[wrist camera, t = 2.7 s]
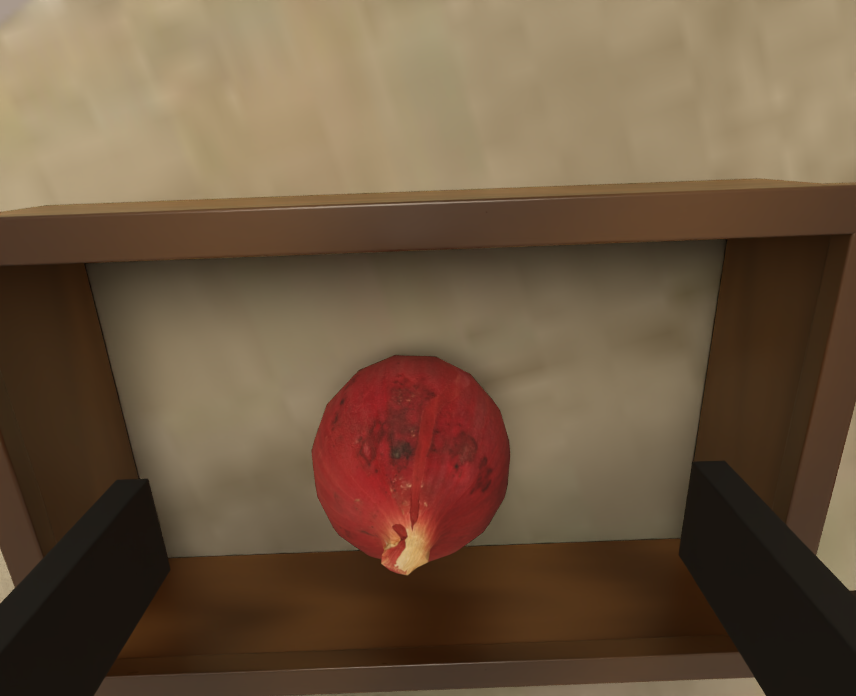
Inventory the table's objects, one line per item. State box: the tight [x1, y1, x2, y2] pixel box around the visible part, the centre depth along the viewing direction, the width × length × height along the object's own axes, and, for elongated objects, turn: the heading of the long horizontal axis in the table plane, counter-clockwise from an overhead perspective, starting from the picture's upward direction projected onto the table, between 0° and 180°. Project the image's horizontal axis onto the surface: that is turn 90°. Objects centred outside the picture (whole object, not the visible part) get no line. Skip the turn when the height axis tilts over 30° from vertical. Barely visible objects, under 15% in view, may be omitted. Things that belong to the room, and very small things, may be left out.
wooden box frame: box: [0, 179, 856, 696], centre depth 17 cm, size 23×15×5 cm, turn 92°
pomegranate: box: [312, 355, 510, 575], centre depth 16 cm, size 6×6×8 cm
